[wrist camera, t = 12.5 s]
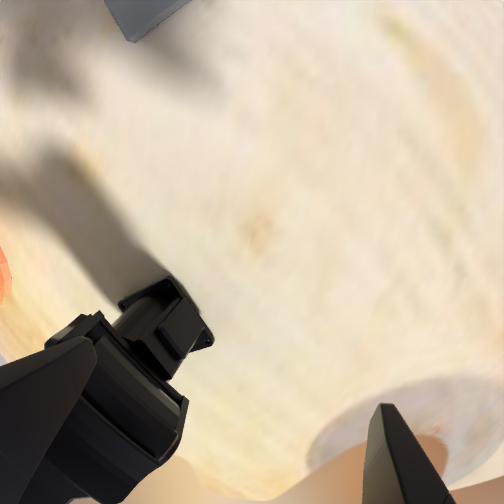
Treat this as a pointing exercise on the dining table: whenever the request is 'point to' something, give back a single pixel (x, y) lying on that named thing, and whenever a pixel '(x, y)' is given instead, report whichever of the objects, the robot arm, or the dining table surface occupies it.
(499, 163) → the dining table surface
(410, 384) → the dining table surface
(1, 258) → the potted cactus
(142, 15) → the socket plate
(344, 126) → the dining table surface
